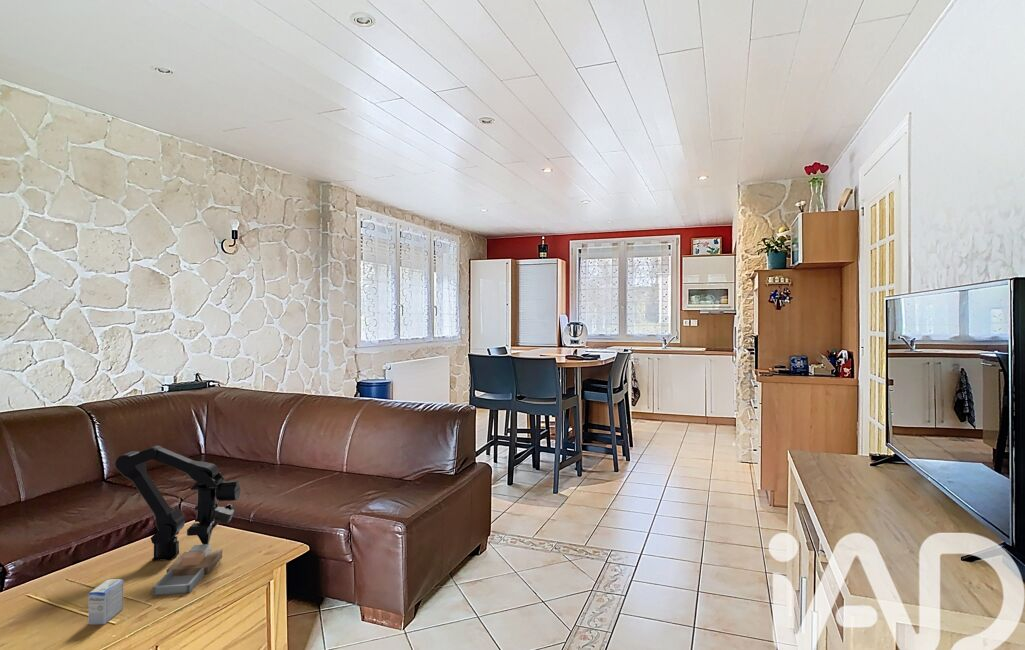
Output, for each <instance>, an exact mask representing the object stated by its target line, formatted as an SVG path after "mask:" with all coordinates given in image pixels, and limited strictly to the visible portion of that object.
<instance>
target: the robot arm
mask: <svg viewBox="0 0 1025 650" xmlns="http://www.w3.org/2000/svg"><path fill="white" fill-rule="evenodd" d="M151 460H154V461H156V462H157V463H161V464H163V465H166V466H168V467H170V468H172V469H176V470H178V471H181V472H183V473H185V474H186V475H188V477H189V478H190V479H192V480H193V481H195V483H194V484H193V486H191V487H190V488H189V489H190V490H191V491H196V496H197V497H196V504H197V505H195V506H194V511H196V517H195V519H194V523H192V524H191V525H190V526H189V527H188V528H187V529H186V535H187V536H188V537H189V536H197V537H198V538H199V541H200V542H201V545H205V544H210V540H211V536H212V533H213V530H214V529H215V527H217V525H219V522H222V523H224V524H228V523H230V521H232V517H233V516H234V514H235V509H234V506H233V504H231V503H228V504H227V505H226V506H225V507H224V506H219V504H220V503H219V502H236V501H239V499H240V496H241V488H240V487H241V486H240V484H239V480H229V481H228V480H226V479H225V478H224V477H223V475H222V474H221V473H220V471H219V468H218V465H217V464H216V463H211V462H207V461H200V460H193V459H191V458H189V457H186V456H184V455H182V454H179V453H177V452H174V451H173V450H172V451H171V450H169V449H167V448H164V447H163V446H161V445H157V444H156V445H154V446H152V447H149V448H146V449H143V450H140V451H137V450H136V451H135V450H134V451H133V450H132V451H130V452H127V453H125V454H123V455H120V456H118V457H117V458H116V460H115V463H114V467H115V469H116V470H117V471H118V473H120V474H121V475H122V476H123V477H125V478H127V479H129V481H131V482H132V483H133V484H134V486H135V488H136V490H138V492H139V494H140V495H141V496H142V498H143V500H144V501H145V503H146V505H147V506H148V507H149V509H150V510H151V512H152V513H153V515H154V516H155V526H156V528H157V531H156V532H155V533H154V534H153V535H152V536H151V537H150V541H151V543H152V545H153V557H152V558H151V562H156V561H157V562H158V561H171V560H173V559H174V558H175V557H176V556H177V555H178V554H179V553H180V541H179V540H178V536H177V535H179V534H180V532H181V530H182V529H183V528H184V527H185V524H186V519H185V517H186V515H184V514H183V513H182V511H181V508H179V507H176V508H173V507H171V506H170V505H169V504H168V503H167V501H166V499H165V498H164V497H163V494H162V493H161V492H160V490H159V489H158V487H157V486H156V484H155V482H154V481H153V480H152V478H151V477H150V475H149V473H148V470H147V462H148V461H151ZM215 521H216V522H215ZM217 521H219V522H217Z"/></svg>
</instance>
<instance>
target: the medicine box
mask: <svg viewBox="0 0 1025 650" xmlns="http://www.w3.org/2000/svg"><path fill="white" fill-rule="evenodd" d="M123 609H124V579H118V578H117V579H114V578H113V579H106V580H105V581H103V582H102V583H100V584H98V586H97V587H95V588H94V589H93V590H91V591H90V592H88V613H87V614H88V617H87V618H88V621H87V622H88V625H93V626H94V625H106V624H107V623H108V622H109V621H110V620H112V619H113V618H114V617H115V616H116V615H117V614H118V613H120V612H121V611H122V610H123Z"/></svg>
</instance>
